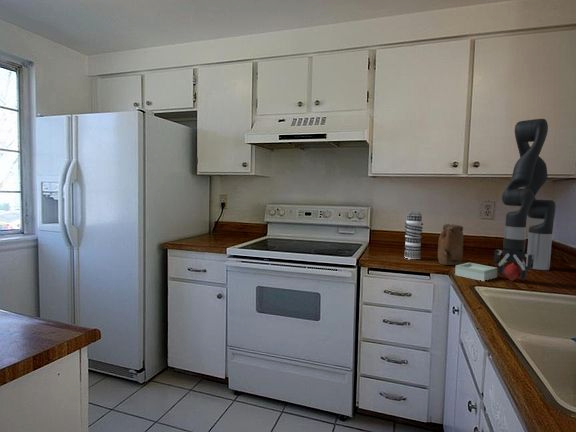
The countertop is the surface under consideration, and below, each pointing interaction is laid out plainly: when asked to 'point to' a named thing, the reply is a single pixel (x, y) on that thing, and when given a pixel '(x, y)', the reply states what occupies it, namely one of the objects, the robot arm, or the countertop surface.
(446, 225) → the block
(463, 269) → the stand
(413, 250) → the white grey cylinder
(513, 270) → the onion
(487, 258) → the countertop surface
